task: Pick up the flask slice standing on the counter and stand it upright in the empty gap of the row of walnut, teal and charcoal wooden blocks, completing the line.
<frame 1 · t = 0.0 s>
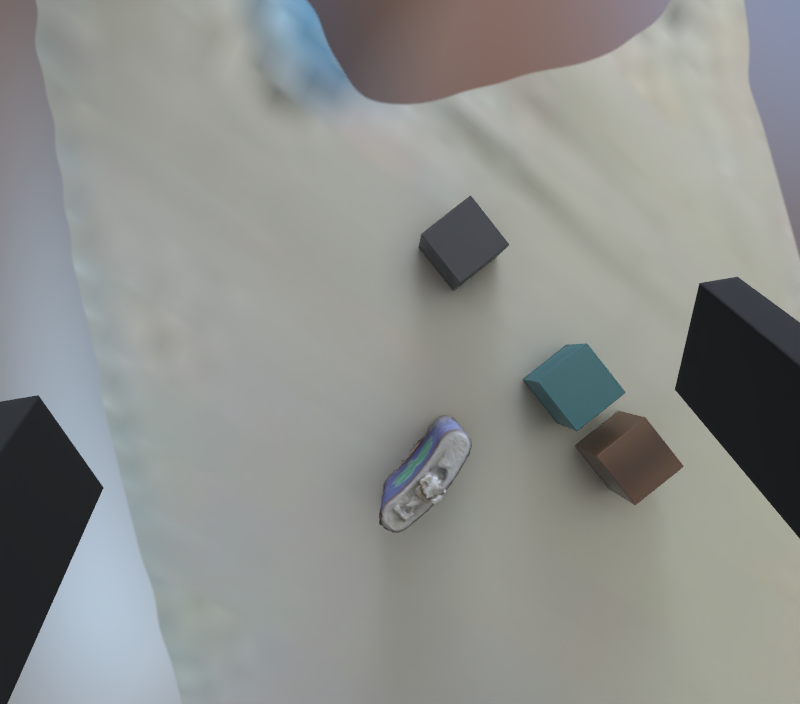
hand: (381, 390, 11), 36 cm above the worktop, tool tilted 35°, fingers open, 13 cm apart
block c: (457, 251, 47), on the worktop
block b: (562, 383, 47), on the worktop
block a: (614, 450, 47), on the worktop
flask: (421, 459, 47), on the worktop
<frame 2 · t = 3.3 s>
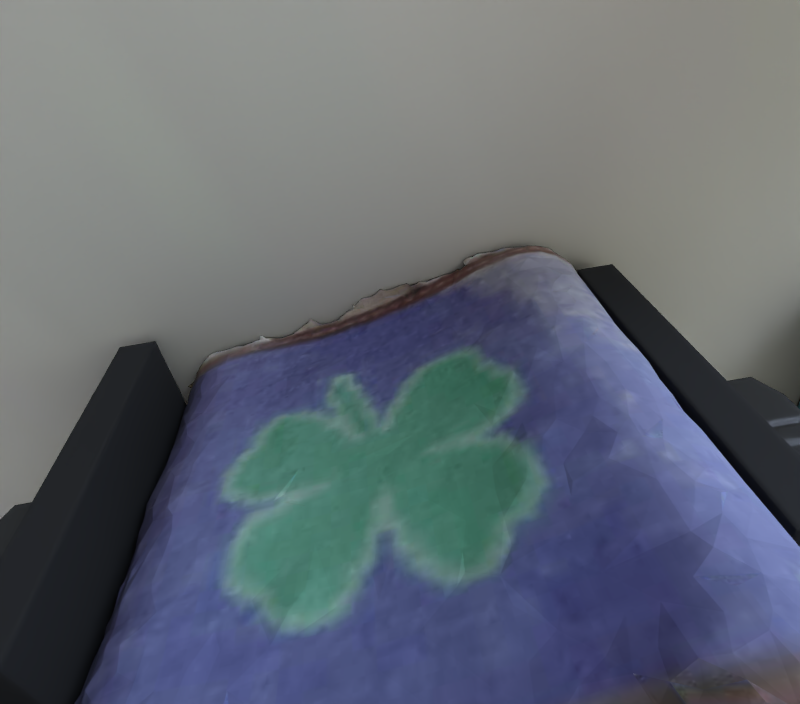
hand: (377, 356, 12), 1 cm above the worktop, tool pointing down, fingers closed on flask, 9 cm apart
flask: (376, 339, 13), on the worktop, touching gripper
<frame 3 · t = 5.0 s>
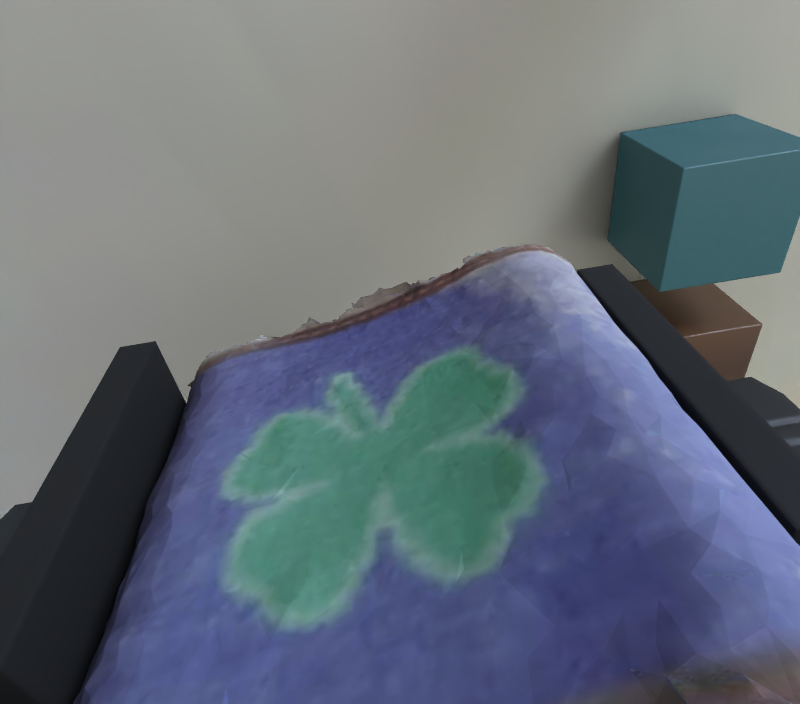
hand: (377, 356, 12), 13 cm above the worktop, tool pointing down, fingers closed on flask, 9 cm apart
block b: (667, 181, 24), on the worktop
block a: (643, 319, 28), on the worktop
flask: (375, 338, 13), point 12 cm above the worktop, touching gripper
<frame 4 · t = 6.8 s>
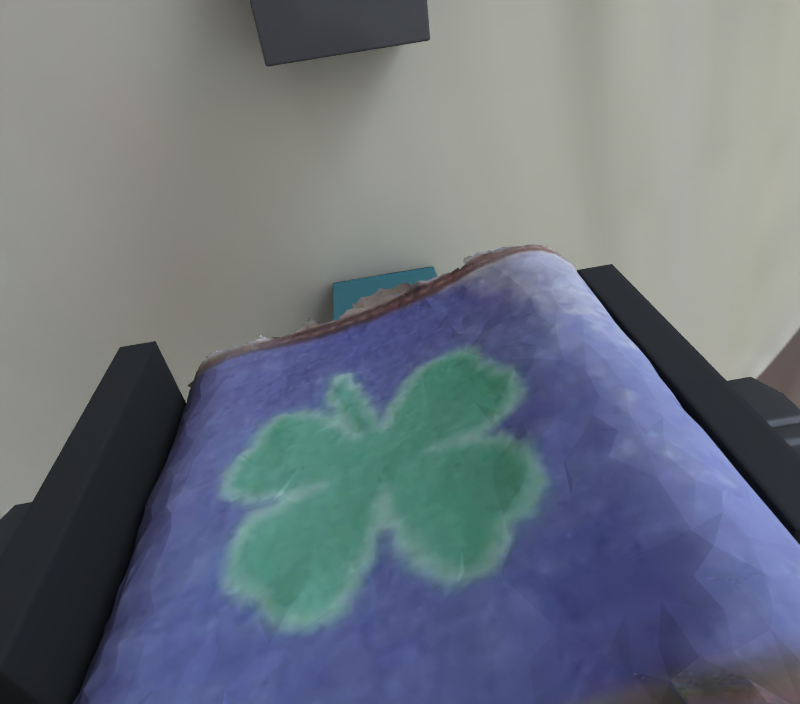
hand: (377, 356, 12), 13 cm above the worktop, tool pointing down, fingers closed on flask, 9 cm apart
block b: (390, 317, 27), on the worktop
flask: (375, 338, 12), point 13 cm above the worktop, touching gripper
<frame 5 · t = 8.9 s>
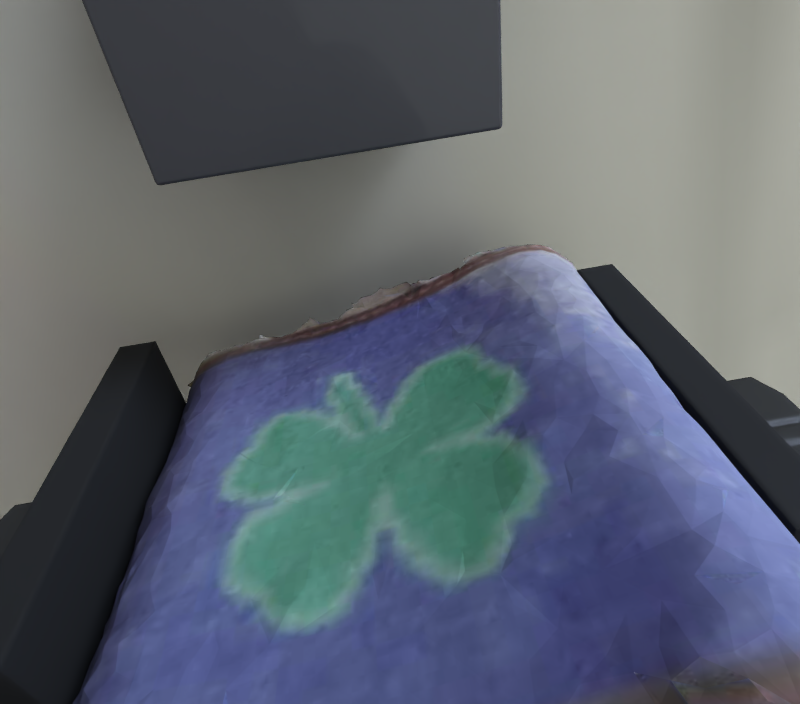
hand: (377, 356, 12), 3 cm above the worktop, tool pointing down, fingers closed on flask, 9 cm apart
flask: (375, 338, 12), point 2 cm above the worktop, touching gripper
when the fingers open (0 cm above the worktop, at t = 10.1 s): flask stays where it is, on the worktop.
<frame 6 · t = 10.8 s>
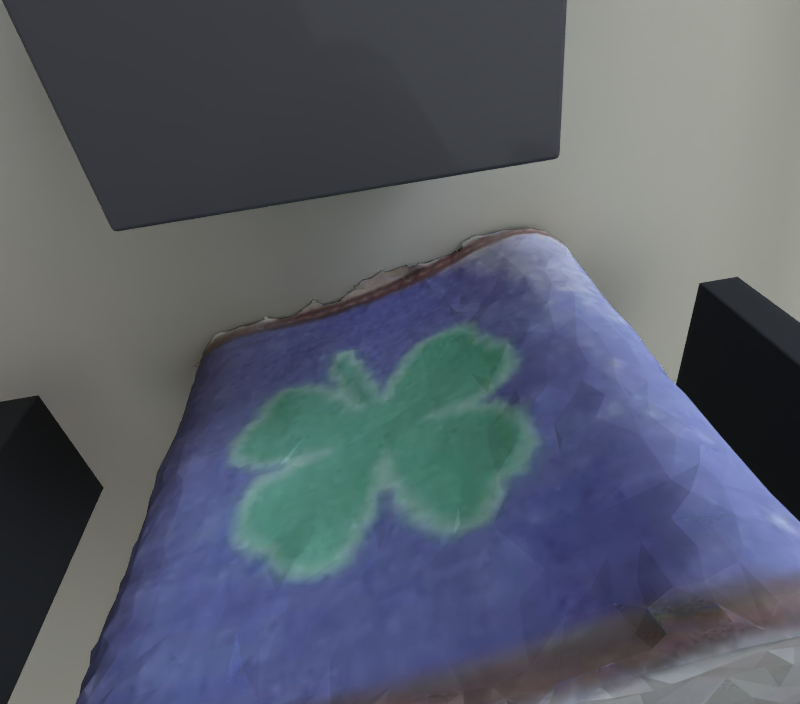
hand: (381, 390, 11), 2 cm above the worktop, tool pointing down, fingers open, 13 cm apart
flask: (376, 320, 13), on the worktop
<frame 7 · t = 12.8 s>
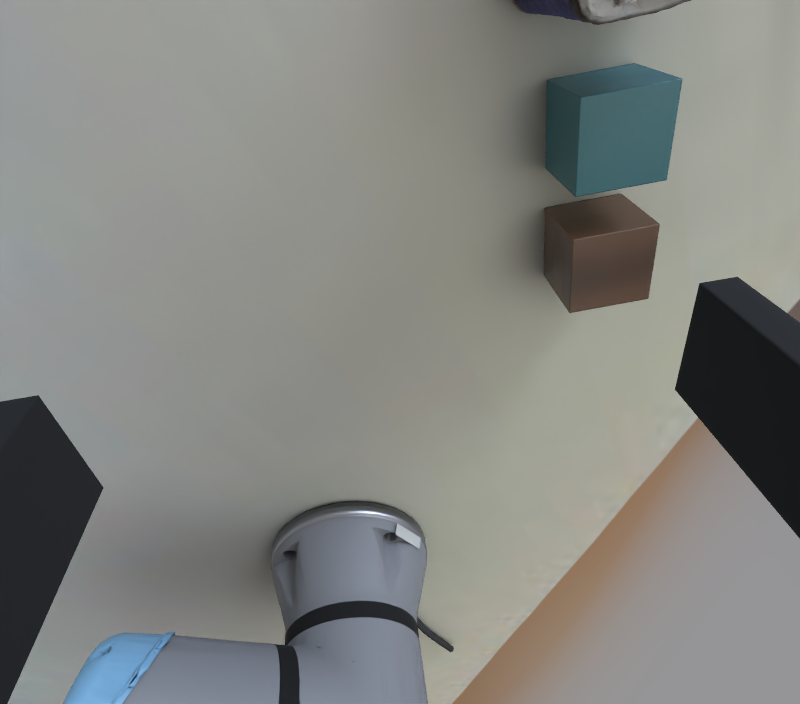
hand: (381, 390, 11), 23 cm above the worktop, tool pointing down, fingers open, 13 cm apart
block b: (588, 118, 31), on the worktop
block a: (580, 236, 35), on the worktop
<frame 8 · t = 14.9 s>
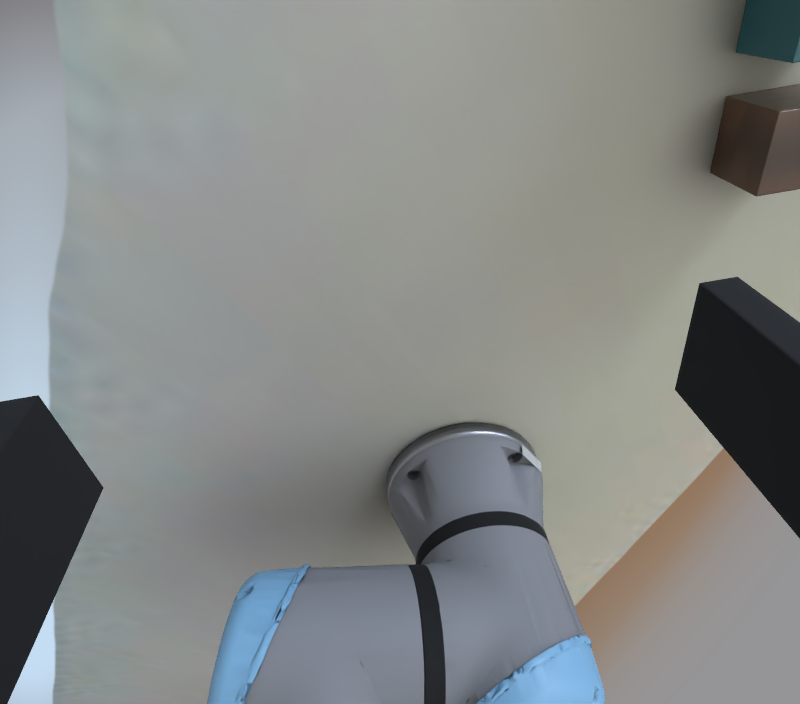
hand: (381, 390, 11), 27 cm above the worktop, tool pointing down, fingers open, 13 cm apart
block a: (753, 130, 36), on the worktop
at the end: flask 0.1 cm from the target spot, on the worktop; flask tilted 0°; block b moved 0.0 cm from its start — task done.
